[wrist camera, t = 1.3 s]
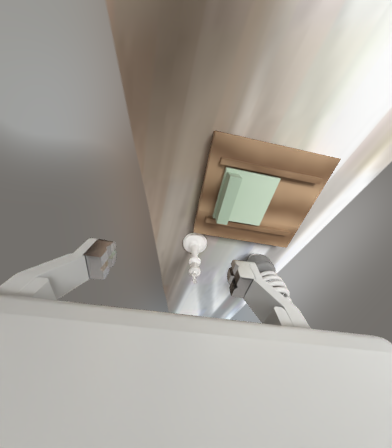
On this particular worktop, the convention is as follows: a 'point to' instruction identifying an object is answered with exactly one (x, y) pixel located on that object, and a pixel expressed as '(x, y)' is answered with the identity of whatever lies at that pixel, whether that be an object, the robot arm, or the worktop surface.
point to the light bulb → (269, 273)
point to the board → (284, 194)
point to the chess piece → (194, 252)
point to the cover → (244, 196)
